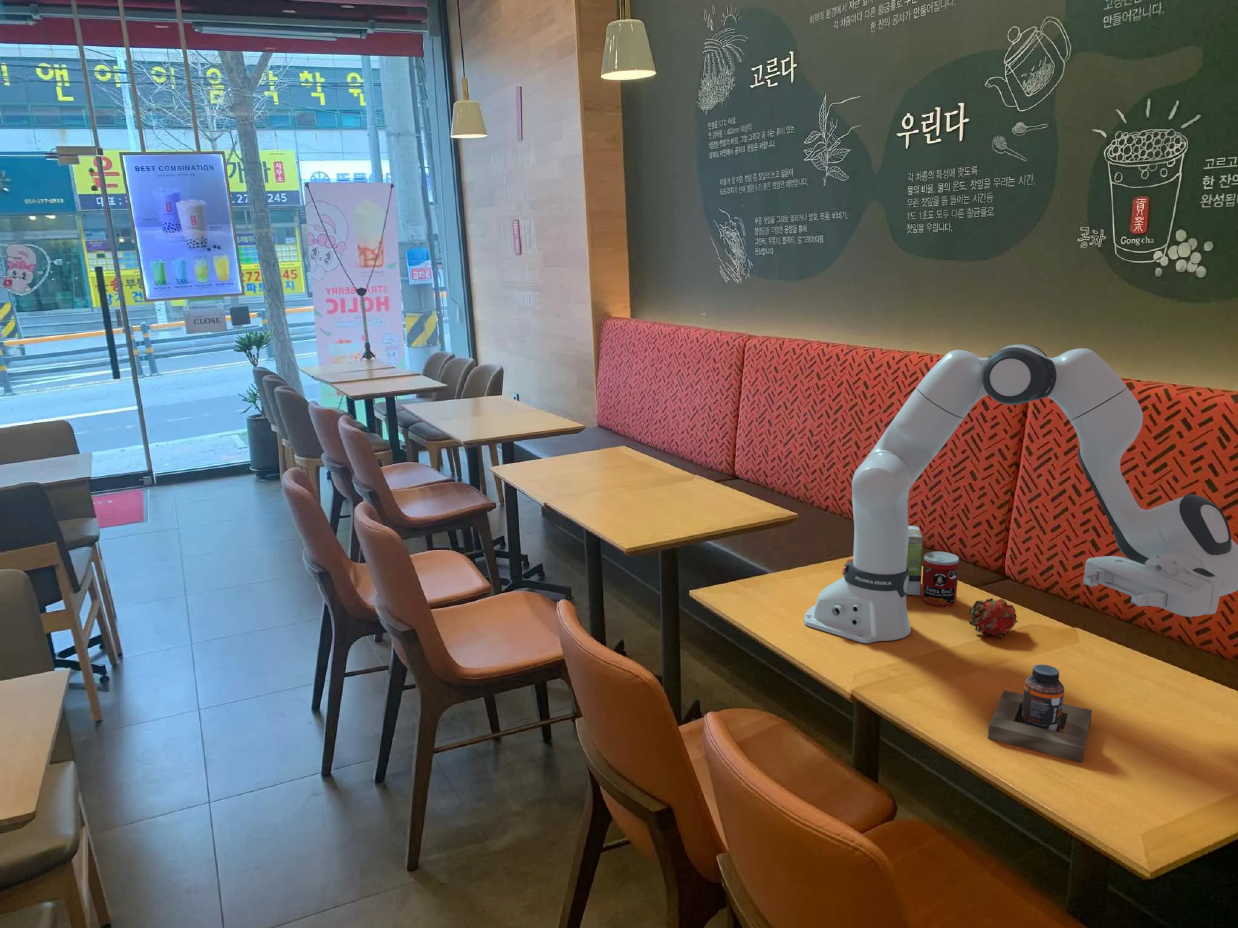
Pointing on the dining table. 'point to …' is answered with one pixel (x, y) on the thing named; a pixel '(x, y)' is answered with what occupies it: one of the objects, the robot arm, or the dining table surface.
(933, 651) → the dining table surface
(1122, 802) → the dining table surface
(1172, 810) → the dining table surface
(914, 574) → the tea box
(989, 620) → the dragon fruit
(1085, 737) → the walnut socket block
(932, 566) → the canned food
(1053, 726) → the supplement bottle
